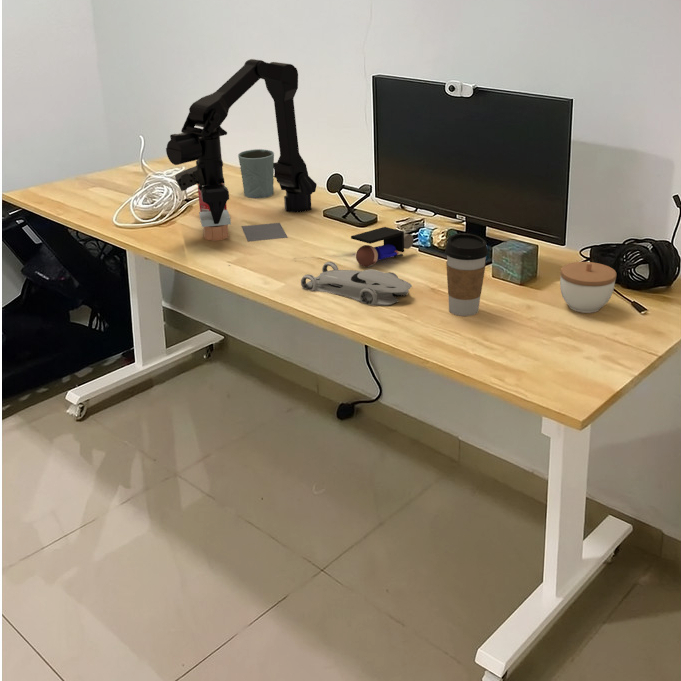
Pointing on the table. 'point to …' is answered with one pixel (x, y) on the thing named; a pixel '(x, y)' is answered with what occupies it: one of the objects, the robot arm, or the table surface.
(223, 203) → the robot arm
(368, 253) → the figurine character
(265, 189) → the grey-green tapered open cylinder
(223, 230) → the terracotta faceted pot
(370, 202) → the table surface
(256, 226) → the mat
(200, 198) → the soda can
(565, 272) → the lidded jar
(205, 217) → the lid
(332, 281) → the car model
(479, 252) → the coffee cup
